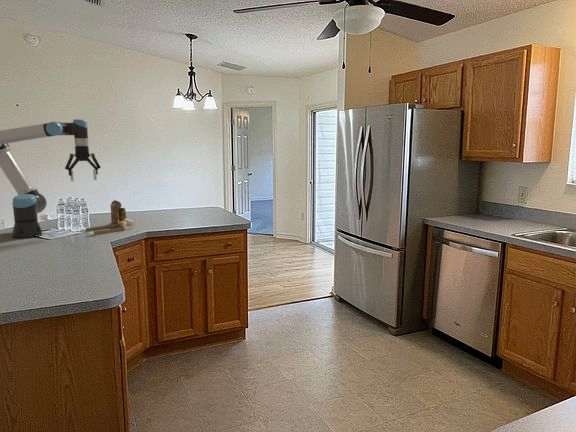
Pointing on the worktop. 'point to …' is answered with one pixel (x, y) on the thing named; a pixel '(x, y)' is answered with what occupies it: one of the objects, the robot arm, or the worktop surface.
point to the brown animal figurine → (120, 211)
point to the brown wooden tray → (106, 229)
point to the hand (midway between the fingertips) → (83, 180)
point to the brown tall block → (114, 217)
